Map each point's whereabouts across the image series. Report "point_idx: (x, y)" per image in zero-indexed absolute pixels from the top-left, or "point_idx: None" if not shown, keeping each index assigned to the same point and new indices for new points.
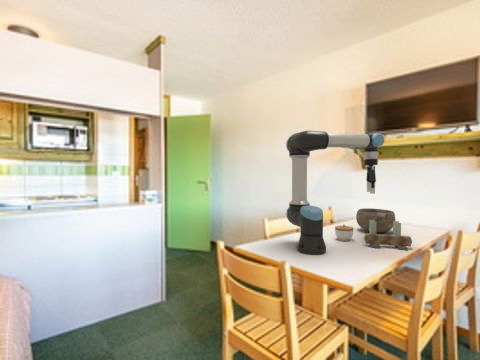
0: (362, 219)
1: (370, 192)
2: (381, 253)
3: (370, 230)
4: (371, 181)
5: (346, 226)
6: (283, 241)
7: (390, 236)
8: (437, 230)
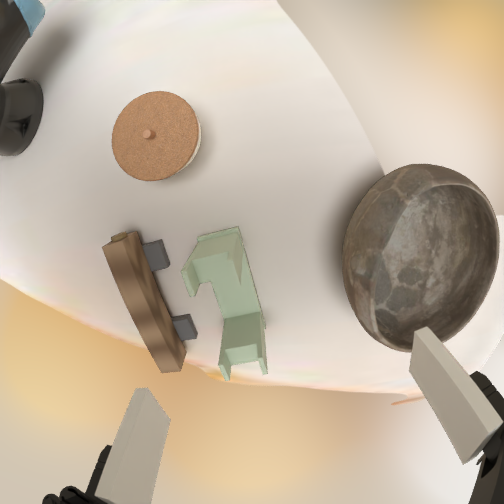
0: (369, 200)
1: (133, 399)
2: (81, 281)
3: (199, 252)
4: (49, 495)
5: (172, 140)
6: (68, 13)
7: (135, 323)
8: None
